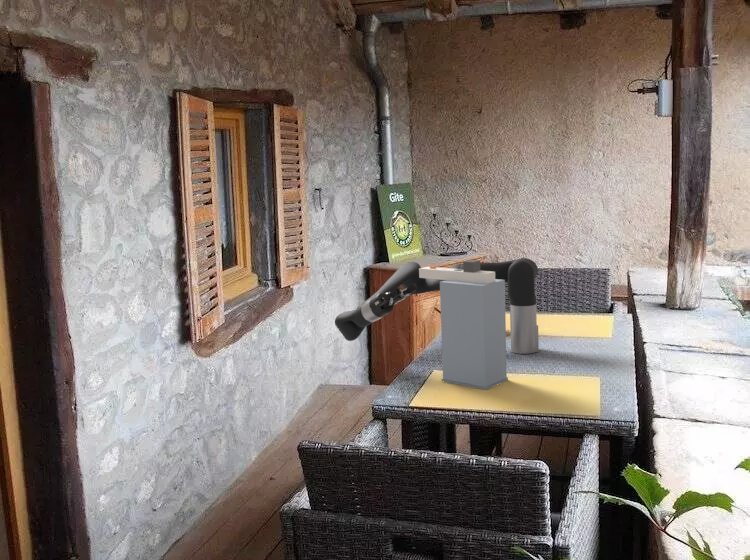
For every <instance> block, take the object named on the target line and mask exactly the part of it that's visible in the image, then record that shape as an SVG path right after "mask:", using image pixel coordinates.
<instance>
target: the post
mask: <svg viewBox="0 0 750 560" xmlns="http://www.w3.org/2000/svg"><path fill="white" fill-rule="evenodd" d="M439 296H440V297H439V298H440V301H439V303H440V326H441V327H440V328H441V329H440V330H441V332H440V333H441V334H440V335H441V354H442V355H441V358H442V362H441V364H442V378H441V382H442V381H444V382H443V383H447V382H448V383H447V384H452V383H453V384H452V385H457V384H458V385H459V386H463V387H468V386H469V388H473V387H474V388H473V389H478V388H479V389H478V390H483V389H484V390H483V391H487V390H490V389H491V388H493V386H494V387H495V386H498V385H500V384H502V383H505V382H507V381H508V380H509V377H508V376H507V375H508V374H507V372H508V371H507V370H508V369H507V331H506V330H507V328H506V327H507V326H506V325H507V324H506V320H507V319H506V282H505V280H501V279H495V282H492V283H488V284H485V283H474V282H462V281H451V280H446V281H442V282H440V290H439ZM497 384H498V385H497ZM458 385H457V386H458Z"/></svg>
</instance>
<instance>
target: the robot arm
mask: <svg viewBox="0 0 750 560" xmlns="http://www.w3.org/2000/svg"><path fill="white" fill-rule="evenodd" d="M419 268H422V267H421V265H420V264H419V263H418V262H415V261H411V262H406V263H405V264H403V265H401V266H400V267H399V268H398V269H397V270H396V271H395V272H394V273H393V274H392V275H391V276H390V278H388V279H387V280H386V281H385V283H384V284H383V285H382V286H380V287H379V289H378V290H377V291H376V292H375V293H374V294H372V295H371V296H370V297H369V298H368V299H366V300H365V301H363V302H362V303H361V304H360V305H358V306H357V308H356V309H352V310H347V311H344V312H341V313H340V314H338V315H337V316H336V317H335V319H334V324H335V327H336V328H337V329H338V331H339V332H340V333H341V335H342V336H343V337H344V339H345V340H346V341H348V342H353V341H355V340H357V339H358V338H359V337H360V336H361V335H362V333H363V332H364V330H365V328H366V327H368V326H369V325H371V324H372V323H374V322H376V321H379V320H380V319H382V318H384V317H385V316H387V315H388V314H390V313H392V312H393V310H394V305H396V304H398V303H399V302H403V301H404V300H405V299H407V298H409V297H410V296H413V295H420V294H427V293H431V292H437V291H439V292H440V282H442V281H446V280H439V279H428V278H419ZM450 268H452V269H463V263H457V264H454V265H452V266H451V267H450ZM480 271H492V272H495V279H501V280H505V283H507V291H508V292H507V293H508V298H509V315H510V316H509V321H510V322H509V323H510V329H509V330H510V351H511V353H514V354H519V355H520V354H521V355H524V354H526V355H530V354H535V353H539V352H540V351H539V346H540V344H539V343H540V341H539V340H540V339H539V325H538V324H537V323H538V322H537V319H538V318H537V316H538V315H537V296H536V293H535V279H536V277H537V276H538V272H539V268H538V265H537V264H536V262H535V261H533V260H532V259H530V258H527V257H521V258H517V259H511V260H505V261H501V262H499V261H498V262H480ZM400 287H401V288H402V289H401V288H400Z"/></svg>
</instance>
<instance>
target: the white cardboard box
mask: <svg viewBox="0 0 750 560" xmlns="http://www.w3.org/2000/svg"><path fill="white" fill-rule="evenodd" d="M480 263H481V260H479V259H478V260H477V259H469V260H468V259H467V260H464V261H462V264H463V269H452V268H451V267H449V268H448V267H439V266H435V265H431V266H425V267H421V268H419V278H428V279H439V280H451V281H462V282H474V283H485V284H488V283H492V282H495V272H492V271H480Z"/></svg>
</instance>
